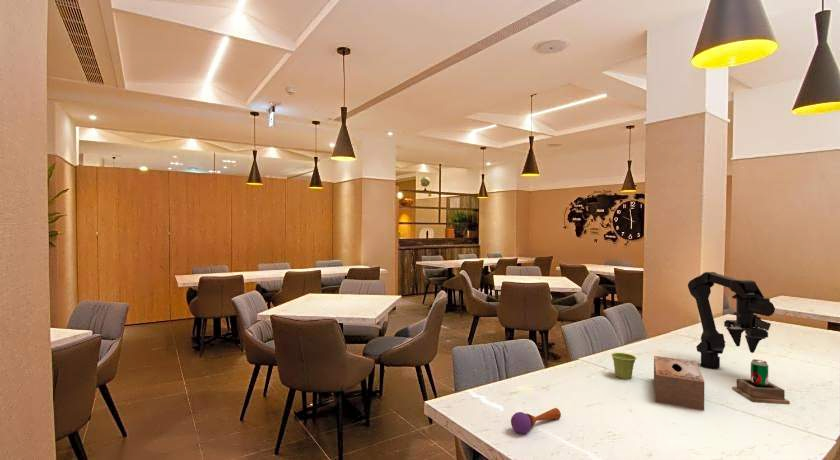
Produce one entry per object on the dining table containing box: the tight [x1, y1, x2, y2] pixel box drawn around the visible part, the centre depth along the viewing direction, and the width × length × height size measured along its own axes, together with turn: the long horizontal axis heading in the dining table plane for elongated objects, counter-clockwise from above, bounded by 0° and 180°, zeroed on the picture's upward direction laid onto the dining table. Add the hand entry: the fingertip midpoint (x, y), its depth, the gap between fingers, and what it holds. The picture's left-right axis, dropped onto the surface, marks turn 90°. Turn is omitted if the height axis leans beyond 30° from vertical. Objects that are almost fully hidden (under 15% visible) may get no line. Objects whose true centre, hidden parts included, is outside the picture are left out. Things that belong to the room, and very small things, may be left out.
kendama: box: [510, 407, 562, 435], centre depth 130 cm, size 6×6×20 cm
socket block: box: [731, 378, 791, 405], centre depth 154 cm, size 12×12×4 cm
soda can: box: [750, 359, 769, 388], centre depth 154 cm, size 5×5×12 cm
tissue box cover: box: [653, 355, 705, 411], centre depth 156 cm, size 26×14×10 cm, turn 152°
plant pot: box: [611, 352, 637, 380], centre depth 174 cm, size 9×9×9 cm
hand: (744, 349), depth 169 cm, fingers open, 9 cm apart
